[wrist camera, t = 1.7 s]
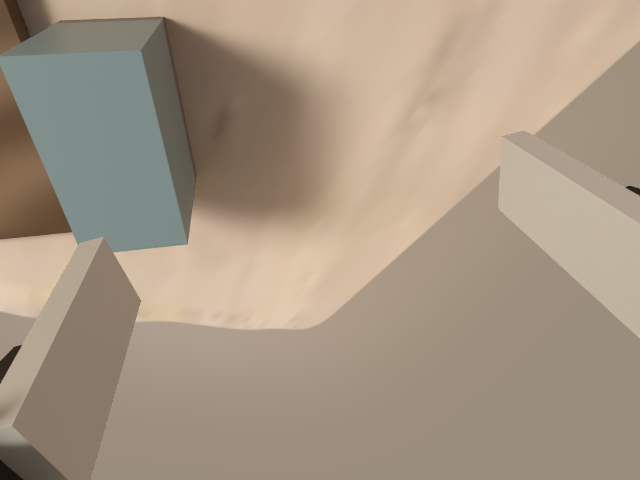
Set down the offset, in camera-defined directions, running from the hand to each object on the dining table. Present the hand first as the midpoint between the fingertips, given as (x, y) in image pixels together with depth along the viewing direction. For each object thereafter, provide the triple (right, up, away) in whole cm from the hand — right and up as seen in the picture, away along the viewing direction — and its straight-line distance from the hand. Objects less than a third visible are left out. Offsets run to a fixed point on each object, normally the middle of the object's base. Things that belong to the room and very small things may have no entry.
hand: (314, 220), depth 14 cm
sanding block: (-12, +8, +15) cm, 21 cm away
